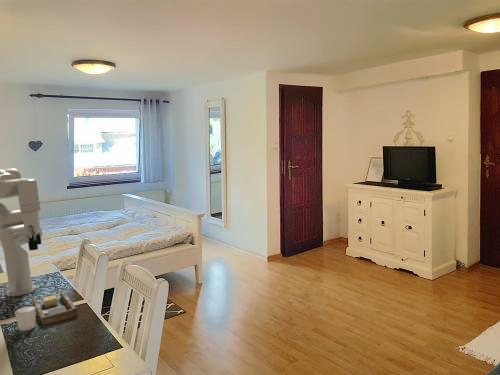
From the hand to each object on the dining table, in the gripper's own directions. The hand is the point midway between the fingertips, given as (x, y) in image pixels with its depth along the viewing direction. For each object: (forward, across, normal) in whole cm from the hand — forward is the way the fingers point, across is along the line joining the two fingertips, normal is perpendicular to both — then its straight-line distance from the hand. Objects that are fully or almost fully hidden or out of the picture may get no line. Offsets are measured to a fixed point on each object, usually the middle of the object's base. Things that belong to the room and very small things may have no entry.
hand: (35, 247), depth 174 cm
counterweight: (+25, +20, +8) cm, 33 cm away
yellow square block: (+25, +5, +4) cm, 26 cm away
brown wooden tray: (+25, +12, +6) cm, 28 cm away
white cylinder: (+25, +25, -2) cm, 36 cm away
